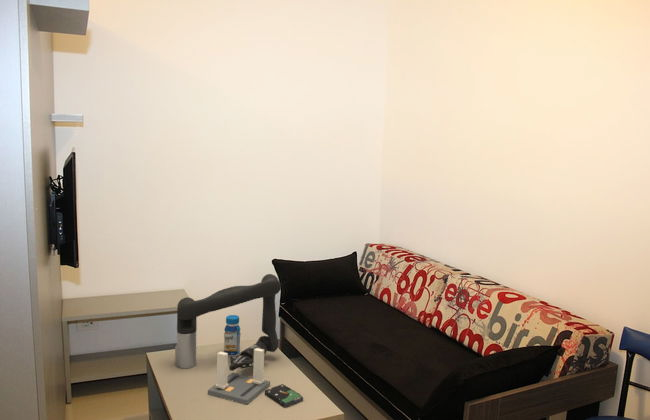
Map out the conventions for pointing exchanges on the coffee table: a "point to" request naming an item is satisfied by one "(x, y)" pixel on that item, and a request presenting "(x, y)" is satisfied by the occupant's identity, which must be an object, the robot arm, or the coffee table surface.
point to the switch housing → (239, 388)
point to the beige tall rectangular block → (258, 366)
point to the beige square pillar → (222, 370)
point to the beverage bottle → (232, 336)
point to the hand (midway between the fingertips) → (230, 368)
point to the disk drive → (283, 395)
